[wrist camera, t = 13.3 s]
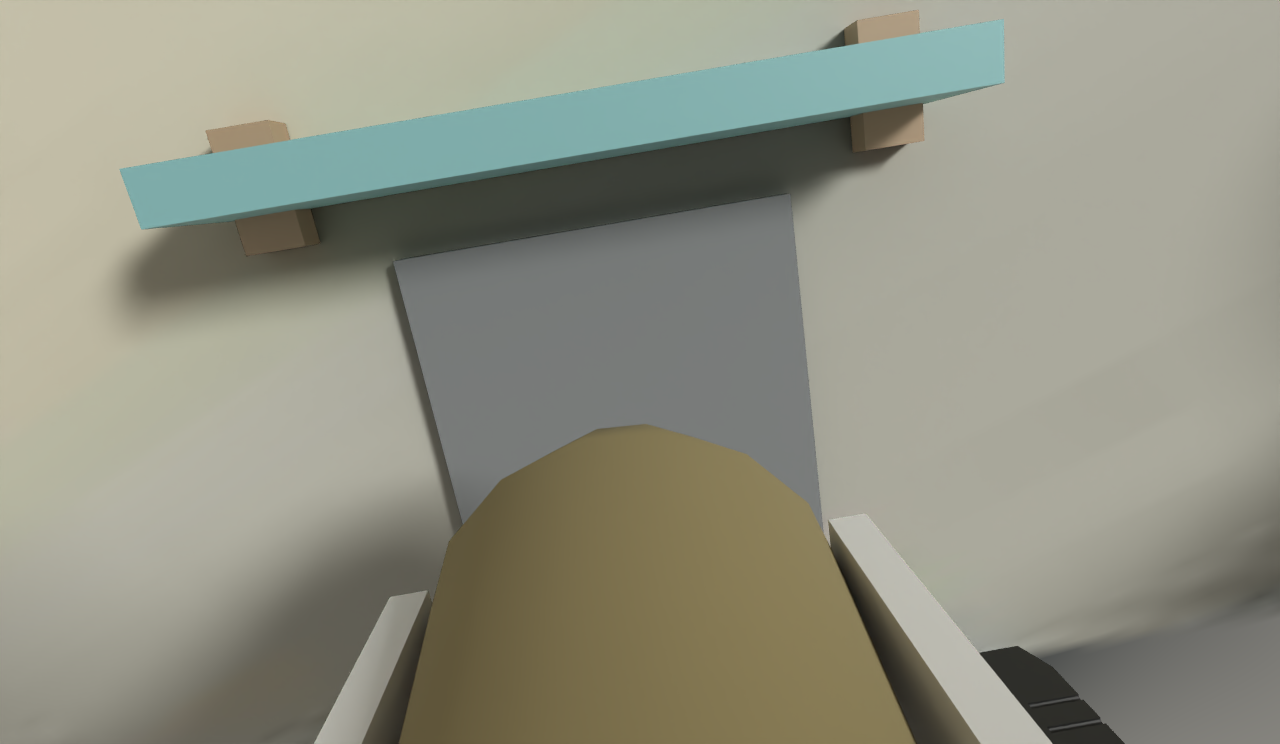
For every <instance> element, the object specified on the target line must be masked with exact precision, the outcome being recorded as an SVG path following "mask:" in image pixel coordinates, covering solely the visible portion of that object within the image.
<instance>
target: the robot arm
mask: <svg viewBox="0 0 1280 744" xmlns="http://www.w3.org/2000/svg"><path fill="white" fill-rule="evenodd" d="M828 523H829V534H830V544H831V550H832V552H833V554H834V556H835V558H836V560H837V562H838V564H839V566H840V568H841V570H842V573H843V575H844V577H845V579H846V582H847V584H848V586H849V588H850V591H851V593H852V595H853V598H854V600H855V602H856V604H857V607H858V609H859V611H860V614H861V616H862V618H863V621H864V623H865V625H866V627H867V630H868V632H869V634H870V637H871V639H872V641H873V644H874V646H875V648H876V650H877V653H878V655H879V657H880V660H881V662H882V664H883V666H884V669H885V671H886V673H887V676H888V678H889V680H890V683H891V685H892V687H893V689H894V692H895V694H896V696H897V699H898V701H899V703H900V705H901V708H902V710H903V712H904V715H905V717H906V719H907V722H908V724H909V726H910V728H911V731H912V733H913V735H914V738H915V740H916V742H917V744H1124V742H1123V741H1122V740H1121V739H1120V738H1119V737H1118V736H1117V735H1116V734H1115V733H1114V732H1113V731H1112V730H1111V729H1110V728H1109V726H1108V725H1107V724H1103V723H1102V722H1101V720H1100V717H1099V716H1098V715H1097V714H1096V713H1095V712H1094V711H1093V709H1092V708H1090V706H1089V705H1088V704H1087V703H1086V702H1085V701H1084V700H1080V698H1079V696H1078V694H1077V692H1076V691H1074V689H1073V688H1072V687H1071V686H1070V685H1069V684H1068V683H1067V682H1066V681H1065V680H1064V679H1063V678H1062V676H1061V675H1060V674H1059V673H1058V672H1057V671H1056V670H1055V669H1054V668H1053V667H1052V666H1050V665H1048V664H1047V663H1045V662H1043V661H1042V660H1040V659H1038V658H1037V657H1035V656H1033V655H1032V654H1030V653H1028V652H1027V651H1025V650H1023V649H1022V648H1020V647H1018V646H1015V647H1009V648H1003V649H998V650H992V651H986V652H981V653H979V652H978V651H977V650H976V649H975V647H974V646H973V645H972V644H971V642H970V641H969V640H968V639H967V638H966V636H965V635H964V634H963V633H962V631H961V630H960V629H959V628H958V626H957V625H956V624H955V623H954V621H953V620H952V619H951V618H950V617H949V615H948V614H947V613H946V612H945V610H944V609H943V608H942V607H941V605H940V604H939V603H938V602H937V601H936V599H935V598H934V597H933V596H932V594H931V593H930V592H929V591H928V589H927V588H926V587H925V586H924V584H923V583H922V582H921V581H920V580H919V578H918V577H917V576H916V575H915V573H914V572H913V571H912V570H911V568H910V567H909V566H908V565H907V564H906V562H905V561H904V560H903V559H902V557H901V556H900V555H899V554H898V552H897V551H896V550H895V549H894V547H893V546H892V545H891V544H890V543H889V541H888V540H887V539H886V538H885V536H884V535H883V534H882V533H881V531H880V530H879V529H878V528H877V527H876V525H875V524H874V523H873V522H872V520H871V519H870V518H869V517H868V515H867V514H866V513H864V514H859V515H853V516H847V517H842V518H836V519H830V520H828ZM431 607H432V602H431V599H430V595H429V592H428V590H426V591H421V592H415V593H409V594H404V595H398V596H392V597H390V598H389V600H388V602H387V604H386V606H385V607H384V609H383V611H382V613H381V615H380V617H379V619H378V621H377V623H376V625H375V627H374V629H373V631H372V633H371V634H370V636H369V638H368V640H367V642H366V644H365V646H364V648H363V650H362V652H361V654H360V656H359V658H358V660H357V661H356V663H355V665H354V667H353V669H352V671H351V673H350V675H349V677H348V679H347V681H346V683H345V685H344V687H343V688H342V690H341V692H340V694H339V696H338V698H337V700H336V702H335V704H334V706H333V708H332V710H331V712H330V714H329V715H328V717H327V719H326V721H325V723H324V725H323V727H322V729H321V731H320V733H319V735H318V737H317V739H316V741H315V742H314V744H399V739H400V735H401V731H402V727H403V723H404V719H405V714H406V710H407V706H408V702H409V698H410V694H411V689H412V685H413V681H414V677H415V673H416V669H417V664H418V660H419V656H420V652H421V648H422V644H423V639H424V635H425V631H426V627H427V623H428V619H429V614H430V611H431Z"/></svg>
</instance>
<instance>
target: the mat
mask: <svg viewBox="0 0 1280 744" xmlns="http://www.w3.org/2000/svg"><path fill="white" fill-rule="evenodd" d="M393 263H394V267H395V271H396V275H397V278H398V282H399V286H400V290H401V294H402V297H403V301H404V305H405V309H406V312H407V316H408V320H409V324H410V327H411V331H412V335H413V339H414V343H415V346H416V350H417V354H418V358H419V361H420V365H421V369H422V373H423V377H424V380H425V384H426V388H427V392H428V395H429V399H430V403H431V407H432V411H433V414H434V418H435V422H436V426H437V429H438V433H439V437H440V441H441V444H442V448H443V452H444V456H445V460H446V463H447V467H448V471H449V475H450V478H451V482H452V486H453V490H454V494H455V497H456V501H457V505H458V509H459V512H460V516H461V520H462V524H464V523H465V522H466V521H467V519H468V518H469V517H470V516H471V515H472V514H473V512H474V511H475V510H476V509H477V508H478V506H479V505H480V504H481V503H482V502H483V500H484V499H485V498H486V497H487V496H488V494H489V493H490V492H491V491H492V490H493V489H494V487H495V486H496V485H497V484H498V483H499V481H500V480H502V479H503V478H505V477H507V476H509V475H511V474H513V473H514V472H516V471H518V470H520V469H522V468H524V467H525V466H527V465H529V464H531V463H533V462H535V461H537V460H538V459H540V458H542V457H544V456H546V455H548V454H549V453H551V452H553V451H555V450H557V449H559V448H561V447H563V446H565V445H567V444H569V443H571V442H573V441H574V440H576V439H578V438H580V437H582V436H584V435H586V434H588V433H590V432H592V431H594V430H596V429H601V428H611V427H620V426H630V425H640V424H648V425H652V426H655V427H659V428H663V429H666V430H670V431H673V432H677V433H681V434H684V435H688V436H691V437H695V438H698V439H701V440H704V441H707V442H710V443H713V444H716V445H720V446H723V447H726V448H729V449H732V450H735V451H738V452H741V453H745V454H747V455H749V456H750V457H751V458H752V459H754V460H755V461H756V462H757V463H759V464H760V465H761V466H762V467H764V468H765V469H766V470H767V471H769V472H770V473H771V474H772V475H774V476H775V477H776V478H777V479H779V480H780V481H781V482H782V483H784V484H785V485H786V486H787V487H789V488H790V489H791V490H793V491H794V492H795V493H796V494H798V495H799V496H800V497H801V498H803V499H804V500H805V501H806V502H808V503H809V505H810V507H811V509H812V511H813V513H814V515H815V517H816V519H817V521H818V523H819V525H820V527H821V529H822V532H823V523H822V513H821V503H820V492H819V482H818V472H817V461H816V451H815V441H814V431H813V420H812V410H811V400H810V390H809V379H808V369H807V359H806V349H805V338H804V328H803V318H802V308H801V297H800V287H799V277H798V267H797V256H796V246H795V236H794V225H793V215H792V205H791V195H790V194H780V195H774V196H768V197H763V198H757V199H751V200H745V201H739V202H733V203H727V204H722V205H716V206H710V207H704V208H698V209H692V210H686V211H681V212H675V213H669V214H663V215H657V216H651V217H645V218H639V219H634V220H628V221H622V222H616V223H610V224H604V225H598V226H593V227H587V228H581V229H575V230H569V231H563V232H557V233H552V234H546V235H540V236H534V237H528V238H522V239H516V240H511V241H505V242H499V243H493V244H487V245H481V246H475V247H470V248H464V249H458V250H452V251H446V252H440V253H434V254H429V255H423V256H417V257H411V258H405V259H399V260H396V261H393ZM823 534H824V533H823Z"/></svg>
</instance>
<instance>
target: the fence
mask: <svg viewBox="0 0 1280 744" xmlns="http://www.w3.org/2000/svg"><path fill="white" fill-rule="evenodd" d="M844 37H845V46H842V47H836V48H830V49H825V50H819V51H813V52H807V53H801V54H795V55H789V56H783V57H777V58H771V59H766V60H760V61H754V62H748V63H742V64H736V65H730V66H724V67H718V68H712V69H707V70H701V71H695V72H689V73H683V74H677V75H671V76H665V77H659V78H653V79H648V80H642V81H636V82H630V83H624V84H618V85H612V86H606V87H600V88H594V89H589V90H583V91H577V92H571V93H565V94H559V95H553V96H547V97H541V98H536V99H530V100H524V101H518V102H512V103H506V104H500V105H494V106H488V107H482V108H477V109H471V110H465V111H459V112H453V113H447V114H441V115H435V116H429V117H423V118H418V119H412V120H406V121H400V122H394V123H388V124H382V125H376V126H370V127H364V128H359V129H353V130H347V131H341V132H335V133H329V134H323V135H317V136H311V137H305V138H300V139H294V140H290V138H289V134H288V131H287V127H286V124H285V123H280V122H275V121H270V120H265V121H260V122H254V123H248V124H242V125H236V126H230V127H224V128H218V129H212V130H206V134H207V137H208V140H209V143H210V146H211V149H212V152H213V153H211V154H205V155H199V156H193V157H187V158H182V159H176V160H170V161H164V162H158V163H152V164H146V165H140V166H134V167H129V168H123V169H120V172H121V175H122V178H123V180H124V183H125V186H126V189H127V191H128V194H129V197H130V200H131V202H132V205H133V208H134V210H135V213H136V216H137V219H138V221H139V224H140V227H141V229H153V228H164V227H175V226H186V225H197V224H209V223H220V222H231V221H235V223H236V226H237V229H238V232H239V235H240V238H241V242H242V245H243V248H244V251H245V254H246V256H251V255H257V254H263V253H269V252H275V251H281V250H287V249H292V248H298V247H304V246H309V245H315V244H320V240H319V237H318V233H317V230H316V226H315V223H314V220H313V216H312V213H311V208H317V207H323V206H329V205H335V204H341V203H346V202H352V201H358V200H364V199H370V198H376V197H382V196H388V195H393V194H399V193H405V192H411V191H417V190H423V189H429V188H435V187H440V186H446V185H452V184H458V183H464V182H470V181H476V180H482V179H487V178H493V177H499V176H505V175H511V174H517V173H523V172H529V171H534V170H540V169H546V168H552V167H558V166H564V165H570V164H576V163H582V162H587V161H593V160H599V159H605V158H611V157H617V156H623V155H629V154H634V153H640V152H646V151H652V150H658V149H664V148H670V147H676V146H681V145H687V144H693V143H699V142H705V141H711V140H717V139H723V138H728V137H734V136H740V135H746V134H752V133H758V132H764V131H770V130H775V129H781V128H787V127H793V126H799V125H805V124H811V123H817V122H822V121H828V120H834V119H840V118H846V117H850V121H851V135H852V149H853V153H854V152H861V151H867V150H873V149H879V148H885V147H891V146H897V145H903V144H908V143H914V142H920V141H924V122H923V104H926V103H929V102H933V101H937V100H941V99H945V98H948V97H952V96H956V95H960V94H964V93H967V92H971V91H975V90H979V89H983V88H986V87H990V86H994V85H998V84H1001V83H1004V19H1001V20H996V21H990V22H984V23H978V24H972V25H966V26H960V27H954V28H948V29H942V30H937V31H931V32H925V33H920V28H919V10H915V11H909V12H903V13H897V14H891V15H886V16H880V17H874V18H868V19H862V20H857V21H855V22H854V23H852V24H851V25H849V26H848V27H846V28H845V29H844Z"/></svg>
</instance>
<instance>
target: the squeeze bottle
mask: <svg viewBox="0 0 1280 744" xmlns="http://www.w3.org/2000/svg"><path fill="white" fill-rule="evenodd" d="M399 744H917V742H916V740H915V738H914V735H913V733H912V731H911V728H910V726H909V724H908V722H907V719H906V717H905V715H904V712H903V710H902V708H901V705H900V703H899V701H898V699H897V696H896V694H895V692H894V689H893V687H892V685H891V683H890V680H889V678H888V676H887V673H886V671H885V669H884V666H883V664H882V662H881V660H880V657H879V655H878V653H877V650H876V648H875V646H874V644H873V641H872V639H871V637H870V634H869V632H868V630H867V627H866V625H865V623H864V621H863V618H862V616H861V614H860V611H859V609H858V607H857V604H856V602H855V600H854V598H853V595H852V593H851V591H850V588H849V586H848V584H847V582H846V579H845V577H844V575H843V573H842V570H841V568H840V566H839V564H838V562H837V560H836V558H835V556H834V554H833V552H832V550H831V548H830V546H829V544H828V542H827V540H826V538H825V536H824V534H823V532H822V529H821V527H820V525H819V523H818V521H817V519H816V517H815V515H814V513H813V511H812V509H811V507H810V505H809V503H808V502H806V501H805V500H804V499H803V498H801V497H800V496H799V495H798V494H796V493H795V492H794V491H793V490H791V489H790V488H789V487H787V486H786V485H785V484H784V483H782V482H781V481H780V480H779V479H777V478H776V477H775V476H774V475H772V474H771V473H770V472H769V471H767V470H766V469H765V468H764V467H762V466H761V465H760V464H759V463H757V462H756V461H755V460H754V459H752V458H751V457H750V456H749V455H747V454H745V453H741V452H738V451H735V450H732V449H729V448H726V447H723V446H720V445H716V444H713V443H710V442H707V441H704V440H701V439H698V438H695V437H691V436H688V435H684V434H681V433H677V432H673V431H670V430H666V429H663V428H659V427H655V426H652V425H648V424H640V425H630V426H620V427H611V428H601V429H596V430H594V431H592V432H590V433H588V434H586V435H584V436H582V437H580V438H578V439H576V440H574V441H573V442H571V443H569V444H567V445H565V446H563V447H561V448H559V449H557V450H555V451H553V452H551V453H549V454H548V455H546V456H544V457H542V458H540V459H538V460H537V461H535V462H533V463H531V464H529V465H527V466H525V467H524V468H522V469H520V470H518V471H516V472H514V473H513V474H511V475H509V476H507V477H505V478H503V479H502V480H500V481H499V483H498V484H497V485H496V486H495V487H494V489H493V490H492V491H491V492H490V493H489V494H488V496H487V497H486V498H485V499H484V500H483V502H482V503H481V504H480V505H479V506H478V508H477V509H476V510H475V511H474V512H473V514H472V515H471V516H470V517H469V518H468V519H467V521H466V522H465V523H464V524H463V525H462V527H461V528H460V529H459V530H458V531H457V533H456V534H455V535H454V536H453V537H452V539H451V540H450V541H449V543H448V547H447V551H446V554H445V558H444V562H443V566H442V569H441V573H440V577H439V581H438V584H437V588H436V592H435V596H434V599H433V603H432V607H431V611H430V614H429V619H428V623H427V627H426V631H425V635H424V639H423V644H422V648H421V652H420V656H419V660H418V664H417V669H416V673H415V677H414V681H413V685H412V689H411V694H410V698H409V702H408V706H407V710H406V714H405V719H404V723H403V727H402V731H401V735H400V739H399Z"/></svg>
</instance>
